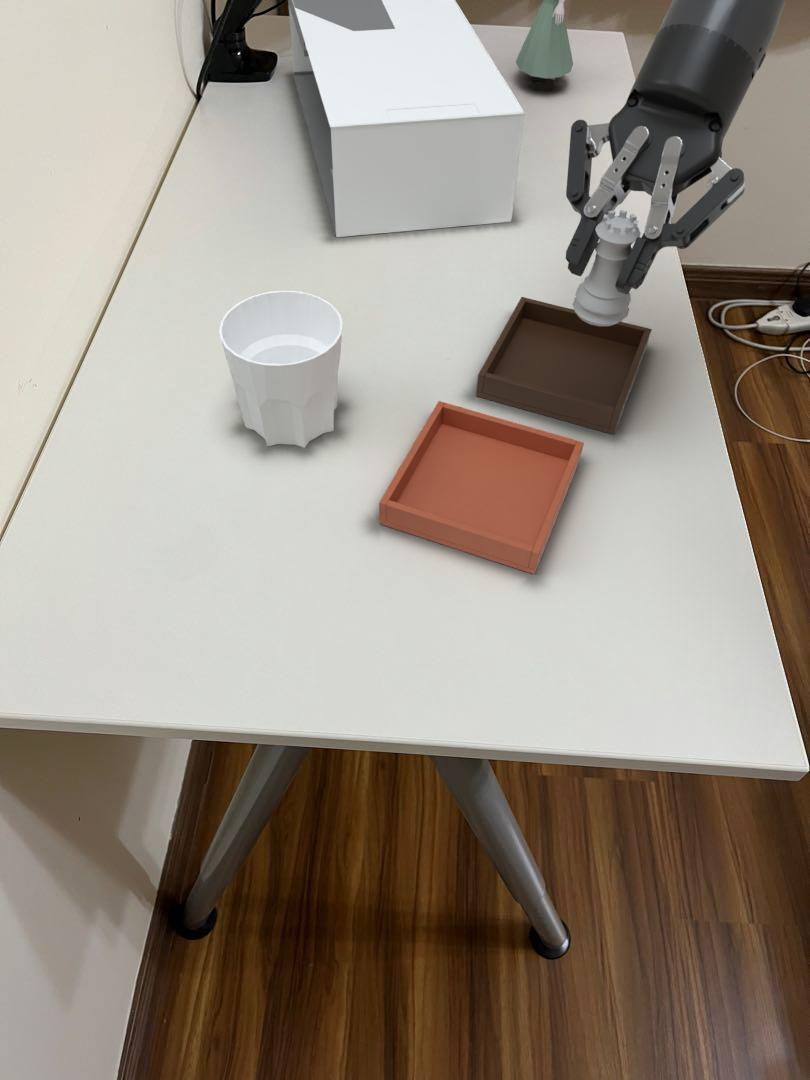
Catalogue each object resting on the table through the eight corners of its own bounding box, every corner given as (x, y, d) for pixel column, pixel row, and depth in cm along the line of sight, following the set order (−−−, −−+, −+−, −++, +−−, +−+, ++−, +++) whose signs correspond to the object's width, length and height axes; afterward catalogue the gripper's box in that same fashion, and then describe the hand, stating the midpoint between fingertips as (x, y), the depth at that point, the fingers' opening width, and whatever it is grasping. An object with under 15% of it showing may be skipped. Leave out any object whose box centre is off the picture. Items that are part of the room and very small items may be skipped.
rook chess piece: (584, 288, 69) (603, 196, 63) (636, 306, 68) (661, 213, 62) (562, 317, 67) (579, 224, 61) (615, 336, 65) (638, 243, 59)
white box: (291, 72, 124) (283, -26, 114) (431, 64, 127) (435, -33, 117) (334, 238, 96) (329, 126, 86) (512, 222, 99) (526, 112, 89)
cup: (301, 367, 81) (292, 276, 74) (369, 420, 77) (367, 329, 69) (214, 413, 77) (195, 322, 69) (281, 472, 72) (268, 382, 65)
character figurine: (510, 57, 129) (525, -85, 115) (565, 59, 129) (586, -84, 115) (515, 103, 119) (532, -47, 105) (574, 105, 119) (598, -45, 105)
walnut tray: (645, 350, 84) (651, 328, 82) (614, 435, 76) (620, 413, 74) (518, 318, 87) (521, 296, 85) (475, 396, 79) (478, 374, 77)
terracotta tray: (578, 463, 74) (584, 442, 72) (534, 574, 66) (539, 554, 64) (437, 422, 77) (438, 400, 75) (379, 524, 69) (378, 502, 67)
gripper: (608, -2, 59) (501, 234, 62) (807, 48, 54) (681, 302, 57) (624, 54, 66) (527, 264, 69) (802, 103, 61) (690, 327, 64)
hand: (598, 280), depth 63 cm, fingers closed on rook chess piece, 3 cm apart
